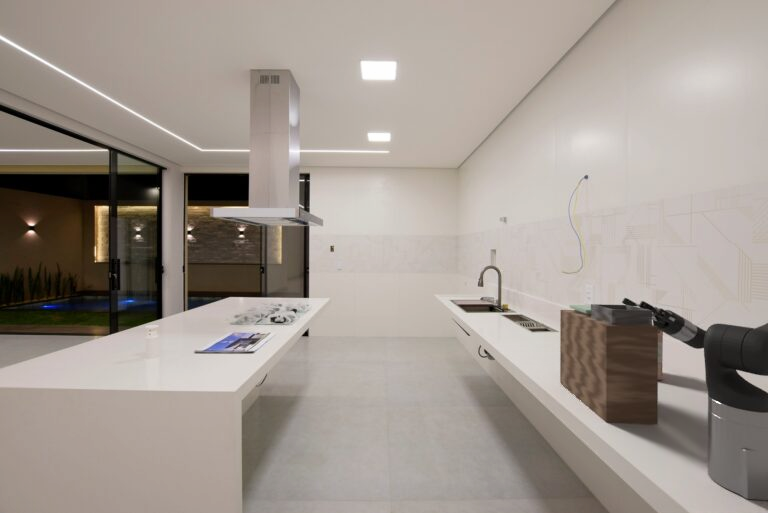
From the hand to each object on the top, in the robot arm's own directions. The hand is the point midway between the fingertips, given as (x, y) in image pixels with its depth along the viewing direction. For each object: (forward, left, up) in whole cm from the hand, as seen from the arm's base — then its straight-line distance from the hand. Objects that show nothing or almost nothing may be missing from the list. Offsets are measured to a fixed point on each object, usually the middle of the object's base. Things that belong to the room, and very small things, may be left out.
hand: (631, 301), depth 111 cm
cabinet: (-7, +14, -32) cm, 36 cm away
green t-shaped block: (0, +7, -4) cm, 8 cm away
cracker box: (+21, -19, -33) cm, 43 cm away
